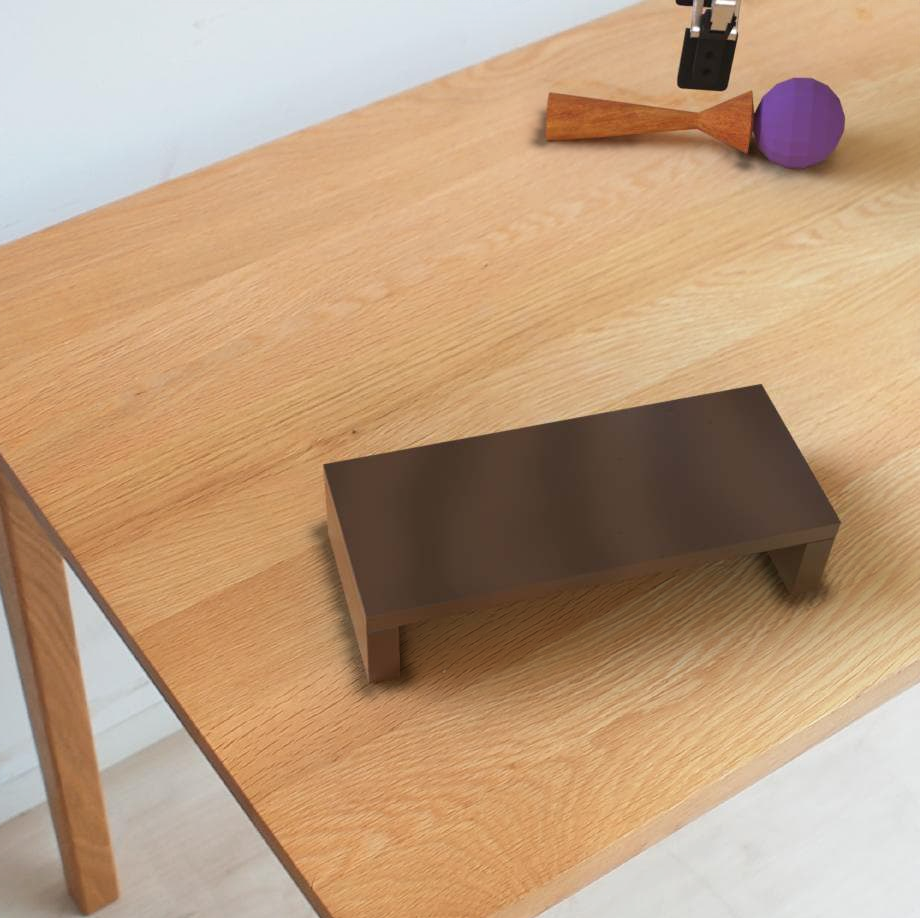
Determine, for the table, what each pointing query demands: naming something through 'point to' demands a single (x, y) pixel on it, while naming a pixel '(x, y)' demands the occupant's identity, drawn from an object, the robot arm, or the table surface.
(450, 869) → the table surface
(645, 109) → the kendama
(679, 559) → the shelf
